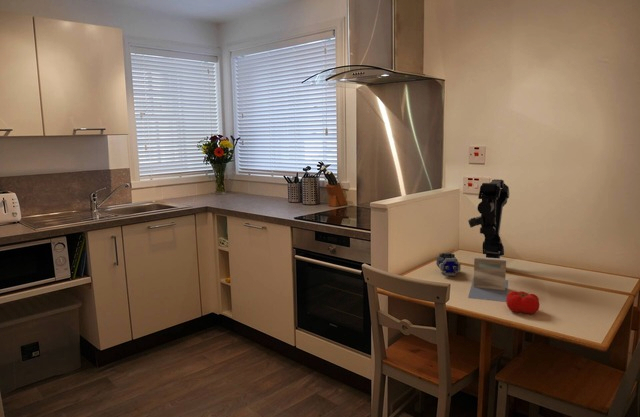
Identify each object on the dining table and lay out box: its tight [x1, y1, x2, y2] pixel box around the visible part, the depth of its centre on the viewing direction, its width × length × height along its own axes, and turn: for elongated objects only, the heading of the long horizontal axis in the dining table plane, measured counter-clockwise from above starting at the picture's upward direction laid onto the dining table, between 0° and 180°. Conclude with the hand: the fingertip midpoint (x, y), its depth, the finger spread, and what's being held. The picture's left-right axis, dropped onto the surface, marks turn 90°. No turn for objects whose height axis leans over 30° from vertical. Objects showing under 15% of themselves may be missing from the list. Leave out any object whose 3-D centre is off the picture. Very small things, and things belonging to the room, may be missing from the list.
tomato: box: [505, 290, 540, 315], centre depth 166 cm, size 10×11×6 cm
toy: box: [435, 252, 462, 277], centre depth 211 cm, size 9×9×15 cm
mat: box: [467, 277, 509, 303], centre depth 190 cm, size 28×14×1 cm, turn 158°
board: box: [473, 256, 507, 290], centre depth 190 cm, size 3×12×12 cm, turn 68°
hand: (487, 245), depth 209 cm, fingers closed
